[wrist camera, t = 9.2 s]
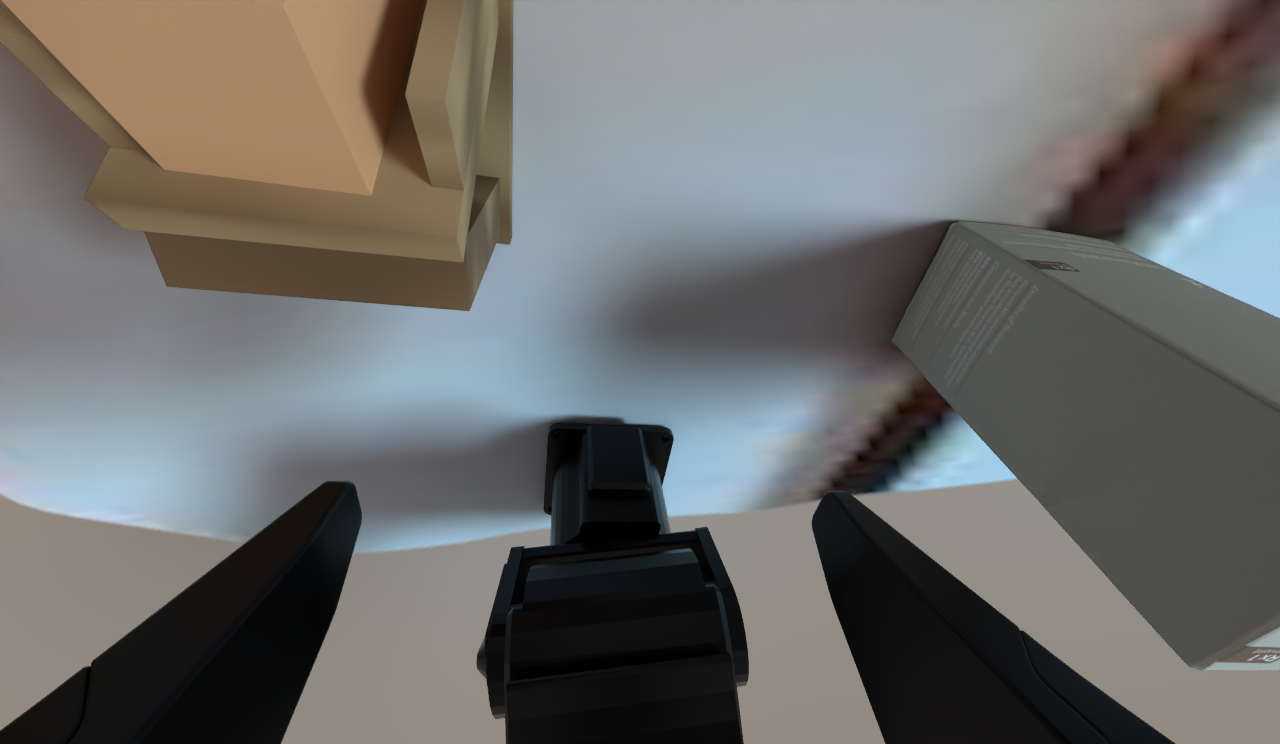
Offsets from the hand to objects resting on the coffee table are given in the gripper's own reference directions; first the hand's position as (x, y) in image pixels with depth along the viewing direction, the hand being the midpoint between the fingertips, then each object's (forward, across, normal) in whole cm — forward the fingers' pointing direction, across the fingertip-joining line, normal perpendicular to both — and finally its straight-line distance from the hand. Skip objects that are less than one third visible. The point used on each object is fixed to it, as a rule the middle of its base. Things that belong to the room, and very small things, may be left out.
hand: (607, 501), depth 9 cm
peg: (+9, +7, -6) cm, 13 cm away
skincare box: (+13, -19, 0) cm, 23 cm away
